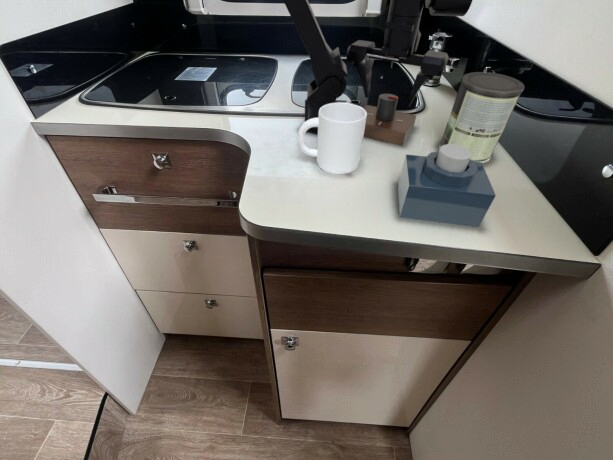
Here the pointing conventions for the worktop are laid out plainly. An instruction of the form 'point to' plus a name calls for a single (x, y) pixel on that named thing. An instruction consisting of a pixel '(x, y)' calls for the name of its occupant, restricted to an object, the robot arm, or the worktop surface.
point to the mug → (336, 137)
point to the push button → (453, 158)
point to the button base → (443, 192)
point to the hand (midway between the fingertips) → (387, 101)
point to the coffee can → (481, 112)
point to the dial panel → (388, 126)
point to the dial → (386, 107)
